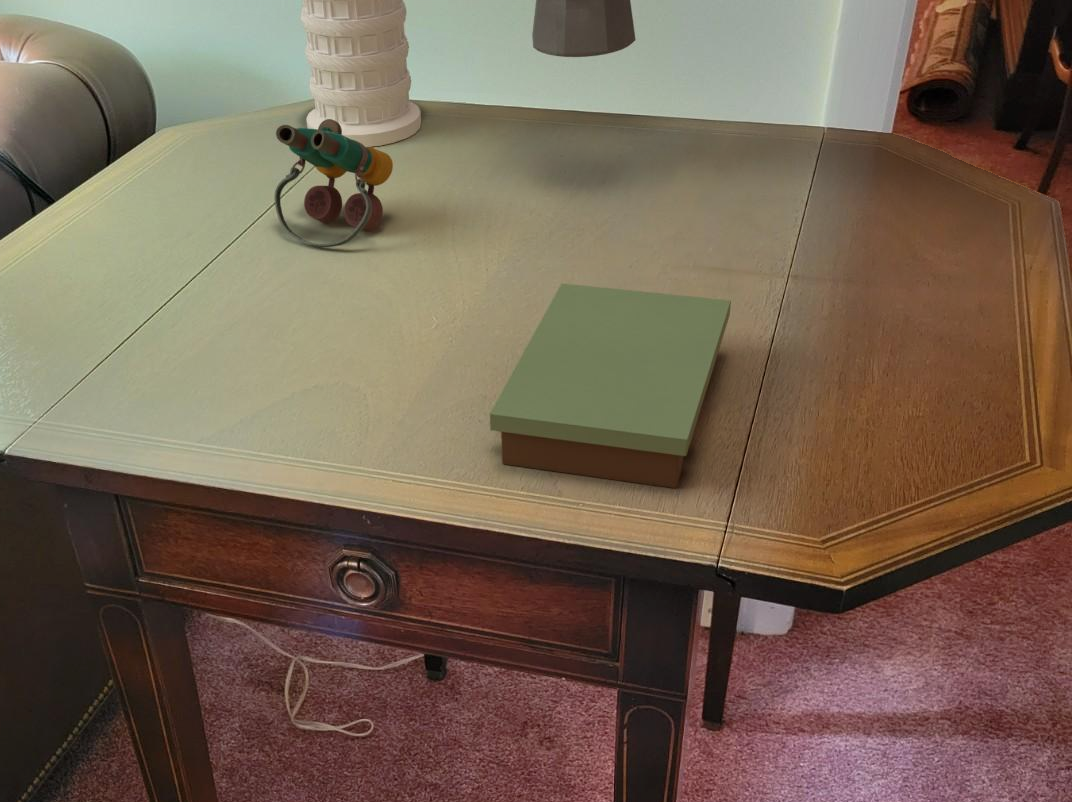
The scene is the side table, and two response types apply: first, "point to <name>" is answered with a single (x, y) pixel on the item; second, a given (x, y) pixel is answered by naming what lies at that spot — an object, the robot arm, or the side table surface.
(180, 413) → the side table surface
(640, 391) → the box with lid
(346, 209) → the binoculars
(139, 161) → the side table surface
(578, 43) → the coffeepot
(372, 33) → the decorative container
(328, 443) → the side table surface
